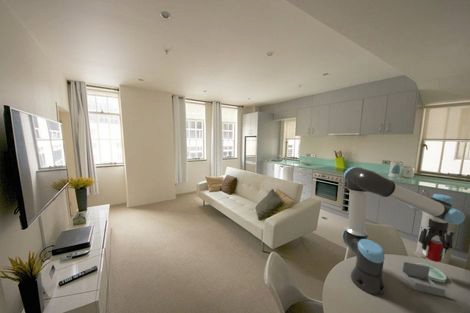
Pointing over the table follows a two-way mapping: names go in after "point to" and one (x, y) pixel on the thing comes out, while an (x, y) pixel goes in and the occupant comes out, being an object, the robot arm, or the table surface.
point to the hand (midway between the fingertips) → (432, 255)
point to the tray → (435, 274)
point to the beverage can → (435, 250)
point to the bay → (421, 272)
